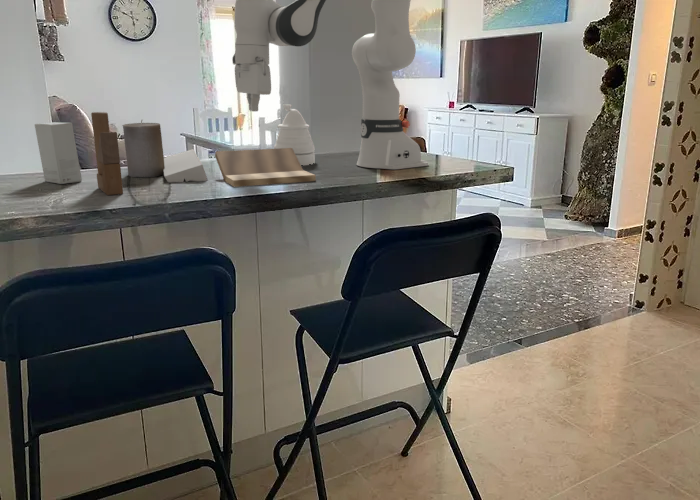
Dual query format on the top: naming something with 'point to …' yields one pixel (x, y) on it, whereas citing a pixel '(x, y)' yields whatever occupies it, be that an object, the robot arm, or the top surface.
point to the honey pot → (296, 136)
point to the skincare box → (58, 152)
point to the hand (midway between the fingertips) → (253, 111)
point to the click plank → (257, 161)
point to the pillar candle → (144, 149)
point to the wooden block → (106, 155)
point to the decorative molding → (184, 167)
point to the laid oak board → (269, 178)
